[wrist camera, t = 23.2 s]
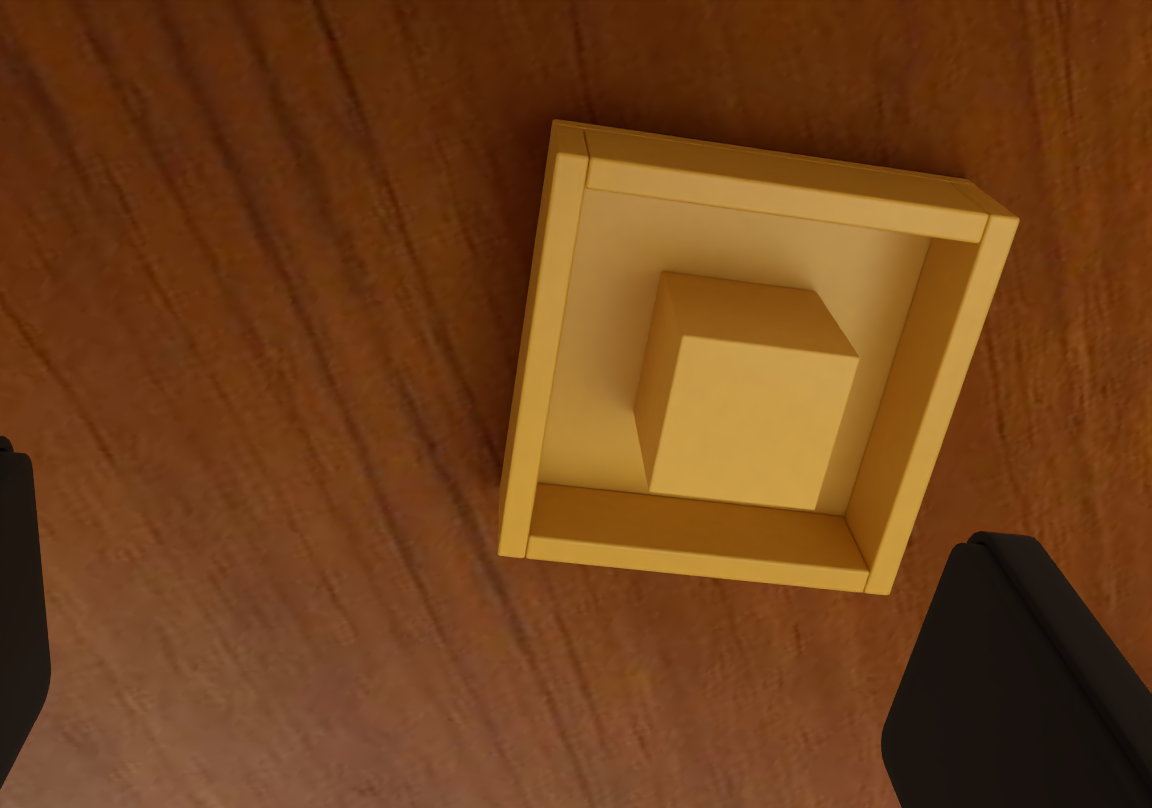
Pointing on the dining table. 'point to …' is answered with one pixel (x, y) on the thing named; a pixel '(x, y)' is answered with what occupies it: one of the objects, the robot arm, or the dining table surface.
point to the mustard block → (741, 391)
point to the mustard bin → (754, 255)
